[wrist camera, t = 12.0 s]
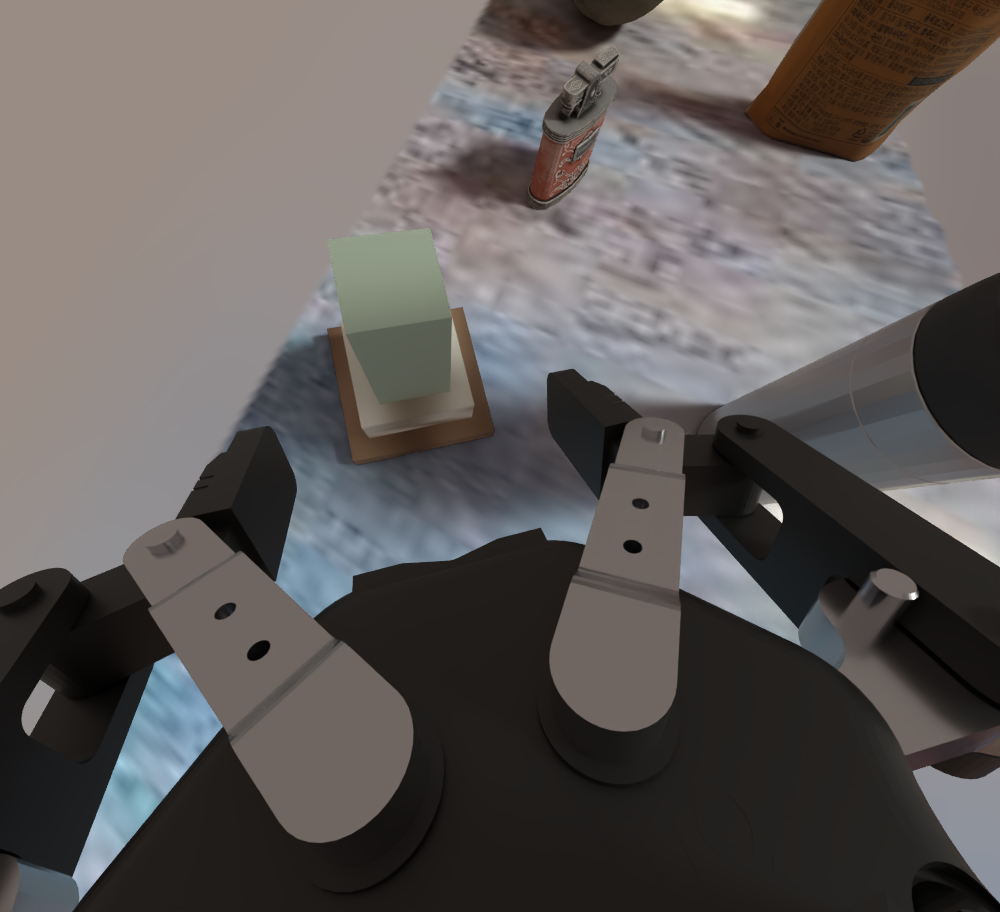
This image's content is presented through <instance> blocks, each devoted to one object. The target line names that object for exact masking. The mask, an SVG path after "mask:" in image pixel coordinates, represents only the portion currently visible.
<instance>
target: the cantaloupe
mask: <svg viewBox="0 0 1000 912" xmlns="http://www.w3.org/2000/svg"><path fill="white" fill-rule="evenodd" d="M662 1H663V0H573V2H574V4H575V5H576V7H577V8H578V9H579V10H580V11H581V12H582V13H583V14H584V15H585V16H586V17H589V18H591V19H592V20H594V21H595V22H597V23H599V24H602V25H618V24H624V23H628V22H632V21H634V20H636V19H638V18H640V17H642V16H644V15H646V14H647V13H649V12H650V11H651V10H653V9H654V8H655V7H656V6H657V5H659V4H660V3H661V2H662Z"/></svg>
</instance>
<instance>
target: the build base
mask: <svg viewBox="0 0 1000 912" xmlns="http://www.w3.org/2000/svg"><path fill="white" fill-rule="evenodd" d="M449 307H450V306H449ZM450 311H451V315H452V337H451V377H450V392H444V393H439V394H434V395H428V396H423V397H418V398H412V399H407V400H402V401H397V402H391V403H386V404H381V405H380V404H379V402H378V400H377V398H376V396H375V394H374V391H373V389H372V387H371V385H370V383H369V381H368V379H367V377H366V375H365V373H364V371H363V369H362V367H361V365H360V363H359V361H358V359H357V357H356V355H355V353H354V351H353V349H352V347H351V345H350V343H349V341H348V338H347V336H346V334H345V330H344V325H343V323H340V324H341V327H335V328H329V329H327V331H328V336H329V341H330V346H331V351H332V357H333V362H334V367H335V372H336V377H337V382H338V387H339V392H340V398H341V403H342V408H343V413H344V418H345V423H346V428H347V434H348V439H349V444H350V449H351V454H352V459H353V462H354V463H355V464H356V465H361V464H365V463H370V462H375V461H379V460H384V459H388V458H393V457H398V456H402V455H407V454H411V453H416V452H421V451H425V450H430V449H434V448H439V447H444V446H448V445H453V444H457V443H462V442H467V441H471V440H476V439H480V438H485V437H490V436H493V434H494V432H495V430H494V427H493V423H492V419H491V415H490V411H489V407H488V403H487V399H486V396H485V392H484V388H483V384H482V380H481V376H480V372H479V368H478V365H477V361H476V357H475V353H474V349H473V345H472V341H471V338H470V334H469V330H468V326H467V322H466V318H465V314H464V310H463V307H461V308H455V309H450Z"/></svg>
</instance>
